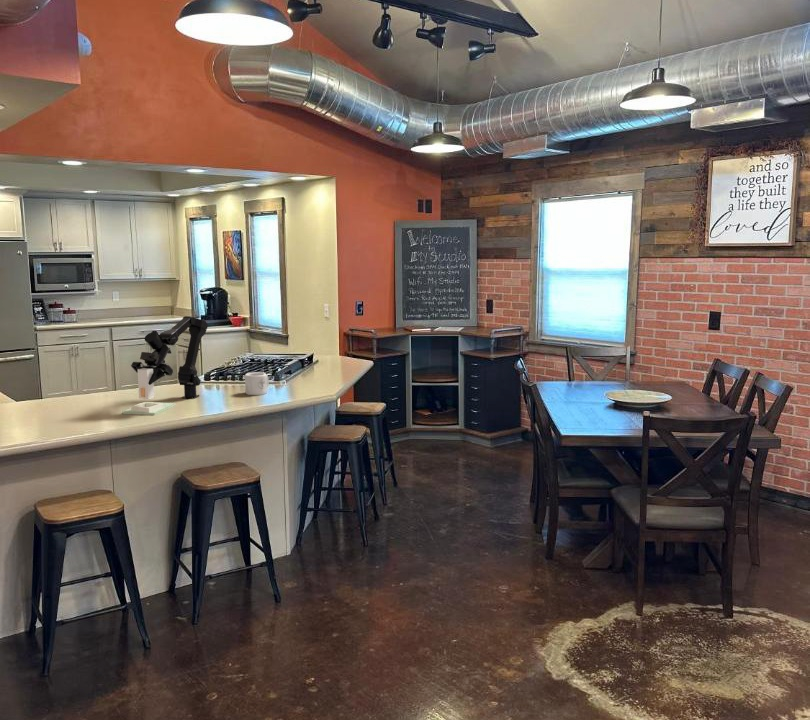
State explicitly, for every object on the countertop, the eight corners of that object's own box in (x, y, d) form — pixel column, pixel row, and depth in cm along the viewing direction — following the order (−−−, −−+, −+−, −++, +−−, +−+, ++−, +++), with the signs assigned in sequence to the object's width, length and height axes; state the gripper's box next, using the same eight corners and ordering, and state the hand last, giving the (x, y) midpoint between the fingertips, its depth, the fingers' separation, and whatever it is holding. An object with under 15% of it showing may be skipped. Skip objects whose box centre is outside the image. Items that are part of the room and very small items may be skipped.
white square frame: (145, 406, 311) (145, 401, 310) (162, 407, 308) (162, 403, 308) (131, 410, 302) (130, 406, 301) (149, 412, 299) (148, 407, 299)
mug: (255, 396, 340) (254, 376, 338) (240, 393, 346) (240, 374, 344) (275, 392, 350) (275, 373, 349) (261, 389, 357) (261, 370, 355)
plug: (145, 396, 307) (143, 368, 305) (154, 397, 305) (153, 368, 303) (137, 398, 302) (136, 369, 300) (147, 399, 301) (145, 370, 299)
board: (144, 404, 320) (144, 402, 320) (175, 405, 318) (175, 403, 318) (122, 413, 300) (122, 411, 300) (154, 415, 298) (154, 412, 298)
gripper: (132, 343, 307) (116, 372, 298) (167, 345, 301) (152, 374, 293) (144, 358, 316) (130, 386, 307) (179, 360, 310) (165, 389, 301)
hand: (144, 383), depth 302 cm, fingers closed on plug, 5 cm apart
